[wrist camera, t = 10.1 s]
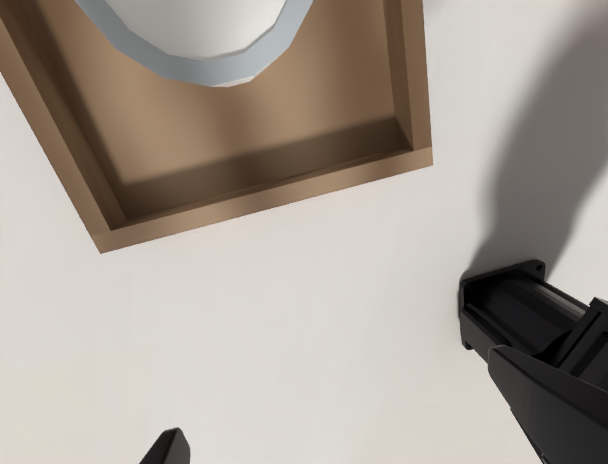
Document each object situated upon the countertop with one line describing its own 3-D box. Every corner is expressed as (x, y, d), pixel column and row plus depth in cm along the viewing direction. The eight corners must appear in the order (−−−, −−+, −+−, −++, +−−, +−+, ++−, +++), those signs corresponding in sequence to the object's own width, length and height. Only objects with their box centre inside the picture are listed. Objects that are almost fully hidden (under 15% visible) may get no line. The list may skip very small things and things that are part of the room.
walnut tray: (369, -294, 12) (396, -395, 9) (411, 159, 18) (433, 165, 16) (-105, -209, 11) (-204, -299, 9) (121, 236, 18) (100, 254, 15)
